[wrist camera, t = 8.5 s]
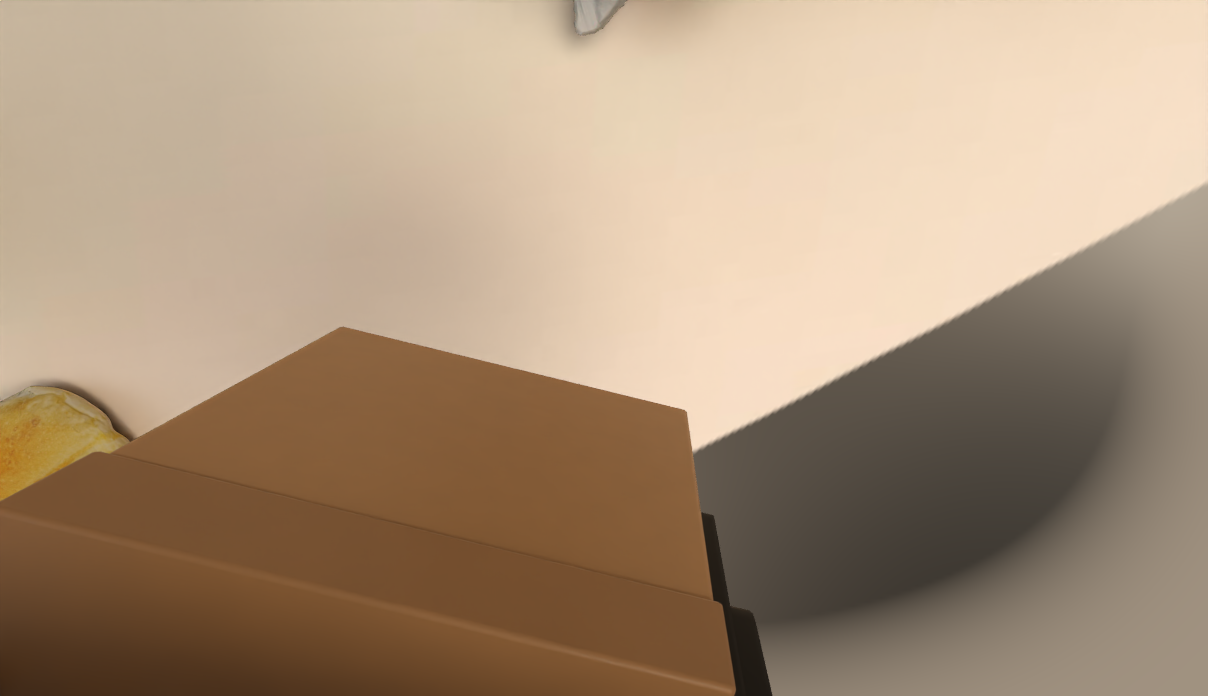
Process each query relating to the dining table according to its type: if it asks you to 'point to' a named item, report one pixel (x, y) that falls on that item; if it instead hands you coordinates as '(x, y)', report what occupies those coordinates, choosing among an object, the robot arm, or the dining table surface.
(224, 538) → the kraft box
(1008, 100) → the dining table surface
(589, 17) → the packaged food
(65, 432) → the bread roll
